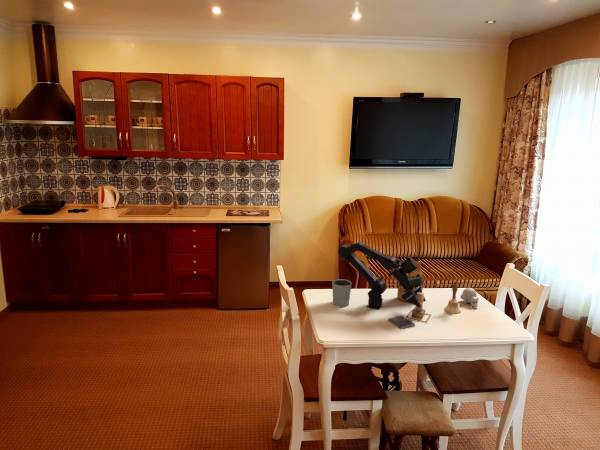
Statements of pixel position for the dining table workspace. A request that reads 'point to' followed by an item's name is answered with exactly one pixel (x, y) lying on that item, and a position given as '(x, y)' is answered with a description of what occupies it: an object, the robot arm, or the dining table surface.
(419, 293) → the stamp
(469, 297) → the round bodied animal figurine
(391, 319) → the ink pad
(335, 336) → the dining table surface
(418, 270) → the coffee package
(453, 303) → the hand bell
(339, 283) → the grey cup
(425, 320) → the marked card
